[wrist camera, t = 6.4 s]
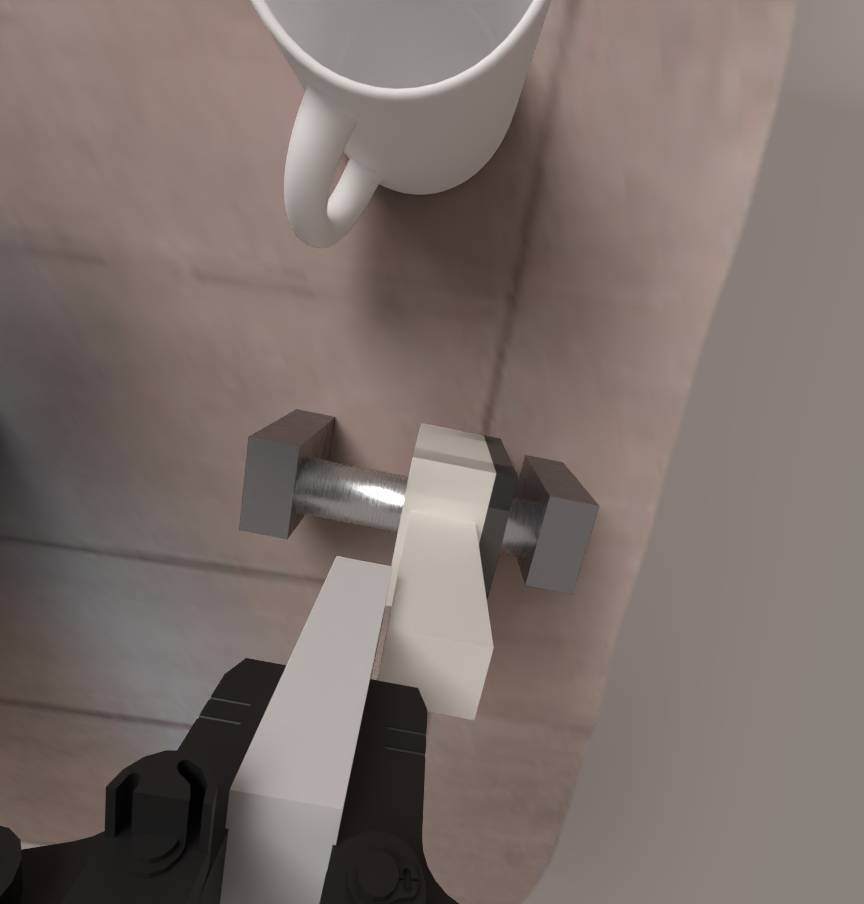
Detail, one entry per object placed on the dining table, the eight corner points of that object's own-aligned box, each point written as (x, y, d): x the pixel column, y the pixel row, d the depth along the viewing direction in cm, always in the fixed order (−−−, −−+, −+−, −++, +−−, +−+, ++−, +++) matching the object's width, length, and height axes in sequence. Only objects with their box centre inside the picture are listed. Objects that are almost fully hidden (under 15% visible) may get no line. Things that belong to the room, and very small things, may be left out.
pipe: (287, 482, 26) (237, 531, 20) (296, 409, 25) (247, 437, 19) (543, 532, 26) (573, 596, 20) (562, 462, 25) (600, 507, 19)
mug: (409, 307, 24) (381, 295, 14) (256, 210, 23) (106, 121, 13) (553, 57, 21) (652, -190, 11) (386, -65, 20) (325, -458, 10)
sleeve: (398, 538, 24) (347, 766, 12) (421, 423, 23) (390, 544, 10) (472, 552, 24) (500, 794, 12) (500, 438, 23) (565, 578, 10)
